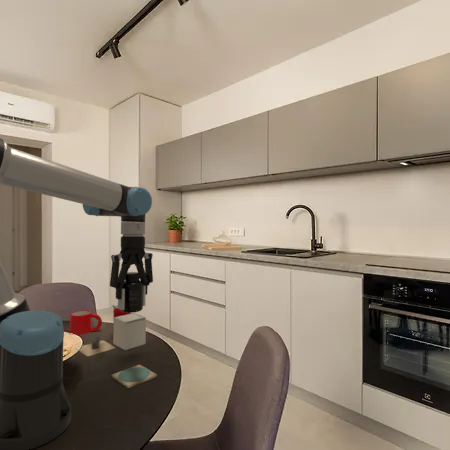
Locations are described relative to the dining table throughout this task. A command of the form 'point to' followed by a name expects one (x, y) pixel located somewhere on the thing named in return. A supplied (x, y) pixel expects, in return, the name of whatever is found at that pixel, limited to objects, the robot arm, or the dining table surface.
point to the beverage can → (118, 314)
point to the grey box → (129, 331)
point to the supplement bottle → (133, 293)
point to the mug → (83, 322)
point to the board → (95, 351)
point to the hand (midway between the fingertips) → (131, 306)
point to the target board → (134, 376)
